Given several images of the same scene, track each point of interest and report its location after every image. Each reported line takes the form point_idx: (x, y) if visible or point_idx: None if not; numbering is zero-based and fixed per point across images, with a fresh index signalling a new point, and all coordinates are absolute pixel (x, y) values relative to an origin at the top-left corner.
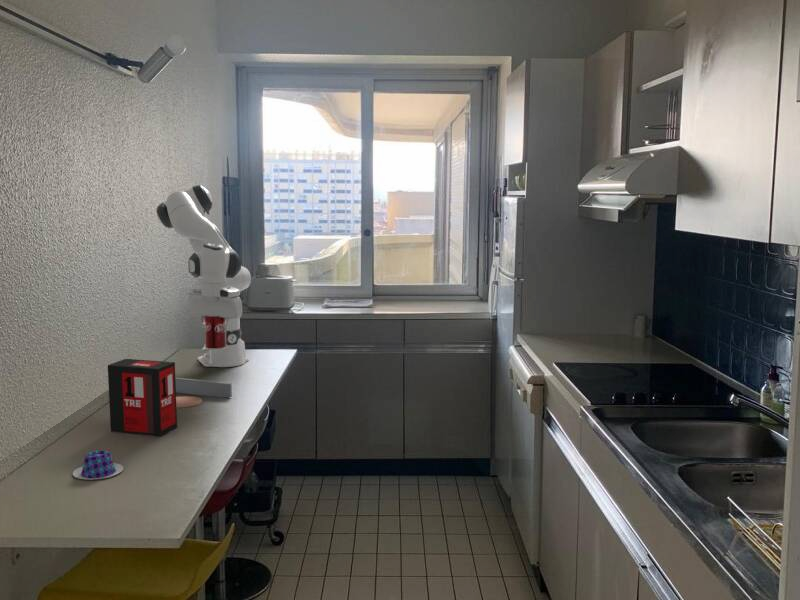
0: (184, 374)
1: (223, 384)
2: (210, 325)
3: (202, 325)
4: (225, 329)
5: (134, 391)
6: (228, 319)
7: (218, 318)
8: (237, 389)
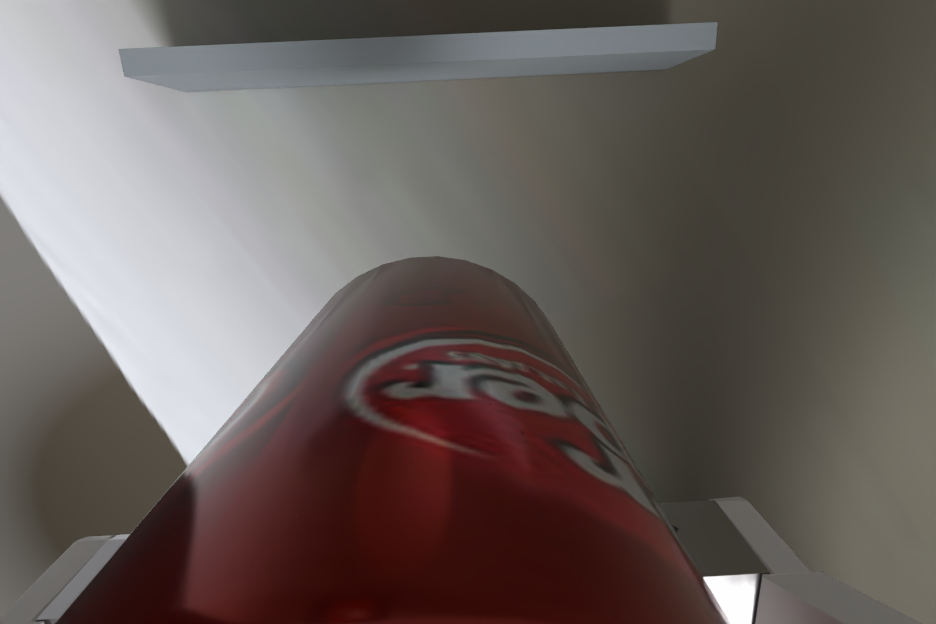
0: (805, 446)
1: (186, 48)
2: (344, 400)
3: (754, 535)
4: (100, 539)
5: None
6: None
7: None
8: (296, 288)
